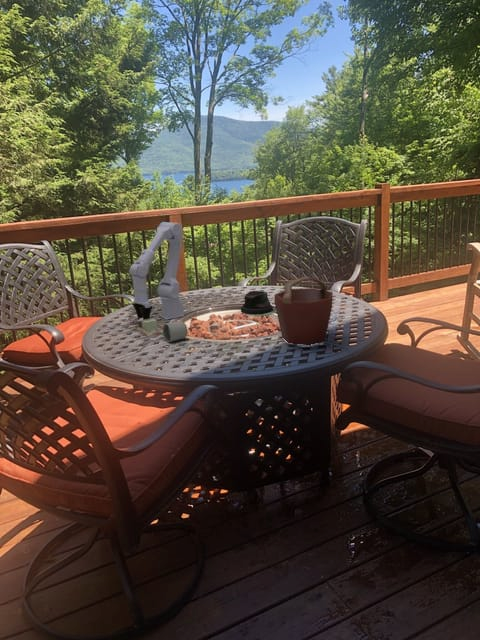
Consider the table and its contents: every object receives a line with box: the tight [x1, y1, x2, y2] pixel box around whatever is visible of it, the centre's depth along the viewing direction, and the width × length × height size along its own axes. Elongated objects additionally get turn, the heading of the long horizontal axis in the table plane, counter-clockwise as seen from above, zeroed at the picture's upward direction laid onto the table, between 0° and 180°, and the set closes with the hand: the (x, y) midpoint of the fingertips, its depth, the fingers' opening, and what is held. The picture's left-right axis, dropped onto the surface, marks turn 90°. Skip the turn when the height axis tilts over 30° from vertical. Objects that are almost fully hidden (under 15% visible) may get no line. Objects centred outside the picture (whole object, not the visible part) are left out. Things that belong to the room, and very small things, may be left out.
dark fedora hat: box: [240, 290, 277, 317], centre depth 234 cm, size 20×20×9 cm
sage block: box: [141, 317, 158, 332], centre depth 212 cm, size 5×5×4 cm
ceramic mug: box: [162, 321, 188, 343], centre depth 198 cm, size 11×8×8 cm
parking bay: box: [137, 323, 164, 338], centre depth 209 cm, size 10×12×1 cm
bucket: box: [273, 276, 333, 345], centre depth 188 cm, size 24×22×25 cm
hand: (143, 319), depth 218 cm, fingers open, 7 cm apart
